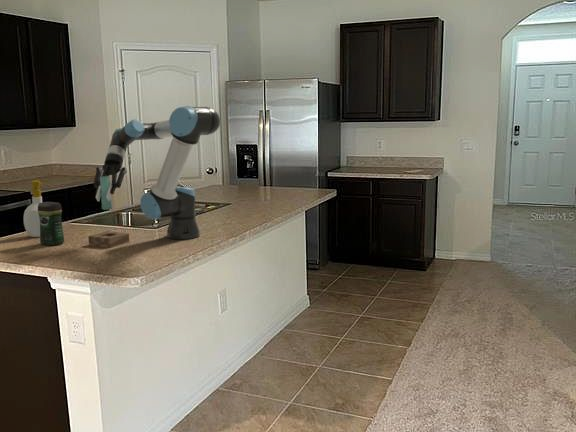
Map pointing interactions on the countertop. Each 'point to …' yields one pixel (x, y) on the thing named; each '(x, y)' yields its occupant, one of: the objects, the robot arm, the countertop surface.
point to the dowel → (105, 192)
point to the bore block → (108, 239)
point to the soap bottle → (33, 212)
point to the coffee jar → (50, 223)
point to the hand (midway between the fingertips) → (102, 199)
